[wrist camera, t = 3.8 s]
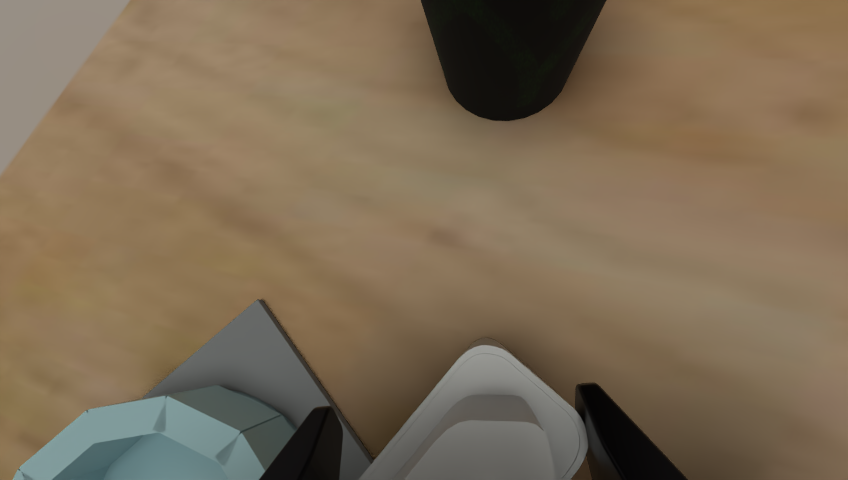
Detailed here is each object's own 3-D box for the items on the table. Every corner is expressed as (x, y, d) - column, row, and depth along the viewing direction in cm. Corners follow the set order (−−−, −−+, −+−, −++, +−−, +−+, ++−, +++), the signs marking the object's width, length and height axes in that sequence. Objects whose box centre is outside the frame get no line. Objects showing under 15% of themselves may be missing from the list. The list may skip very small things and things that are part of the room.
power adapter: (549, 385, 15) (777, 588, 3) (455, 502, 14) (333, 1211, 3) (483, 329, 16) (478, 331, 4) (393, 438, 15) (99, 788, 4)
